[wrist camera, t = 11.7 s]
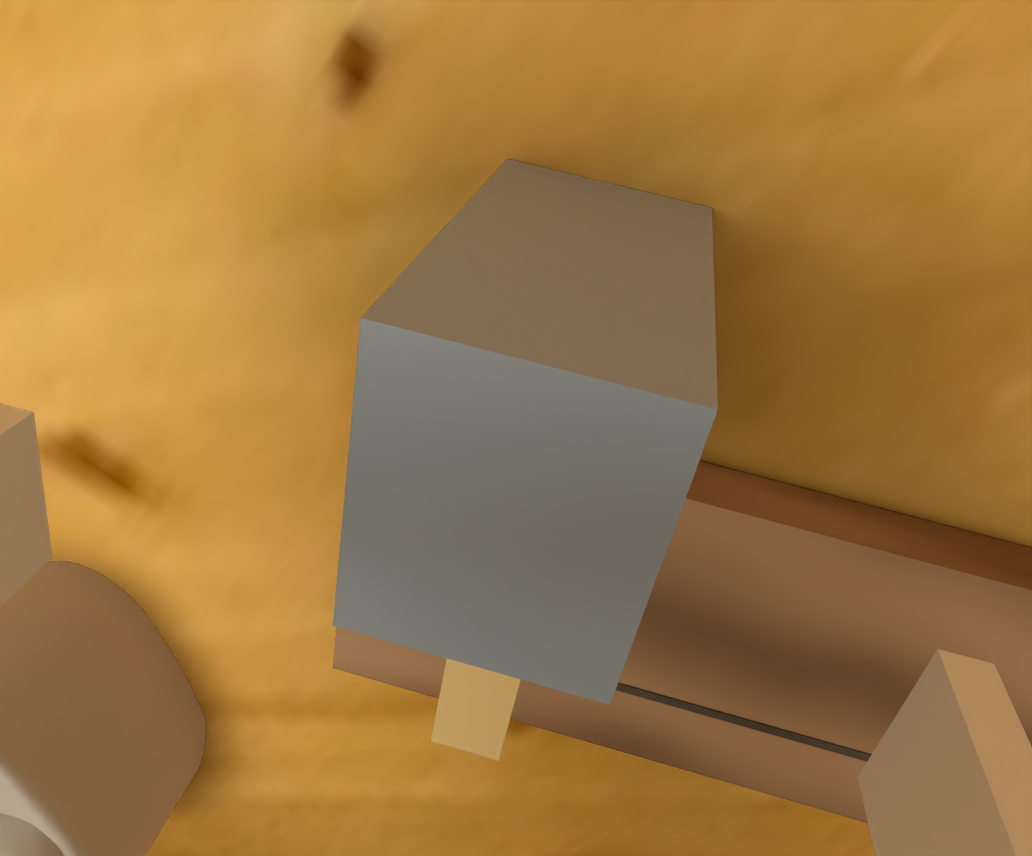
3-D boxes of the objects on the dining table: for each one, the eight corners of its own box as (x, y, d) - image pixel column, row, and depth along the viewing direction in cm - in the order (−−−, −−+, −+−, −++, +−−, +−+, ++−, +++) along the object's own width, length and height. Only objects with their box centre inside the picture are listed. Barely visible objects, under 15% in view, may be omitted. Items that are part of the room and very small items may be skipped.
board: (1112, 841, 27) (1140, 903, 25) (354, 625, 29) (332, 669, 27) (1325, 625, 22) (1380, 684, 20) (381, 377, 24) (356, 412, 22)
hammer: (573, 647, 27) (515, 963, 19) (429, 606, 28) (308, 897, 19) (712, 208, 19) (718, 409, 11) (507, 158, 20) (360, 317, 11)
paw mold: (120, 555, 29) (-73, 757, 22) (252, 796, 35) (134, 1019, 28) (-99, 570, 32) (-335, 753, 25) (57, 790, 38) (-97, 992, 31)
